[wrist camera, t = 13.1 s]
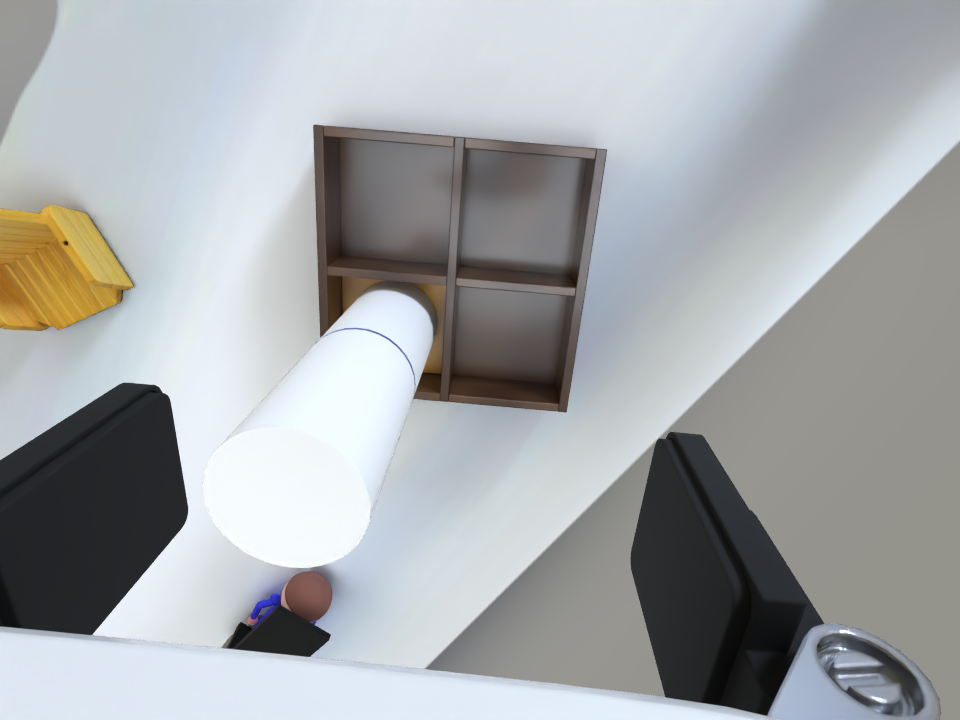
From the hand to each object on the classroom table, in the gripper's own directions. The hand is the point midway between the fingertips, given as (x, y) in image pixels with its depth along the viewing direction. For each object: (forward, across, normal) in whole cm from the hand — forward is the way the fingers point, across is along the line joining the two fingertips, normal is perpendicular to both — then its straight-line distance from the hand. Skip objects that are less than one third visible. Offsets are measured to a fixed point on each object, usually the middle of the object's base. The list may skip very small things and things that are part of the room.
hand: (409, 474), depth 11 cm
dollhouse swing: (+35, +36, +7) cm, 51 cm away
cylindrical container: (+35, +7, +9) cm, 37 cm away
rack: (+36, +2, +4) cm, 36 cm away
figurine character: (+35, +19, +43) cm, 59 cm away
